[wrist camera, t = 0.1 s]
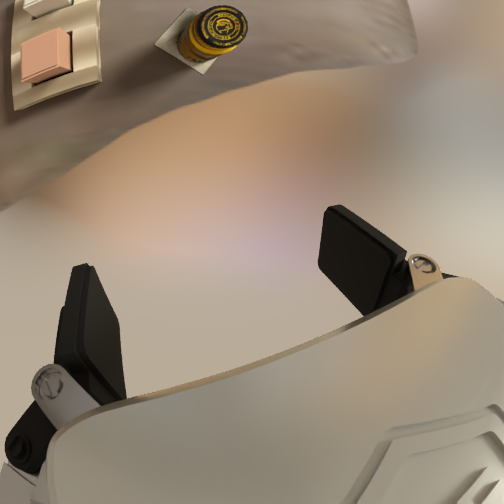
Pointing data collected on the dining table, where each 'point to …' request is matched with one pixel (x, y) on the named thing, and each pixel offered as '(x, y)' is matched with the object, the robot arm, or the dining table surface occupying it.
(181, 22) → the condiment
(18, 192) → the dining table surface
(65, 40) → the terracotta key
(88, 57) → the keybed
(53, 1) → the ivory key
